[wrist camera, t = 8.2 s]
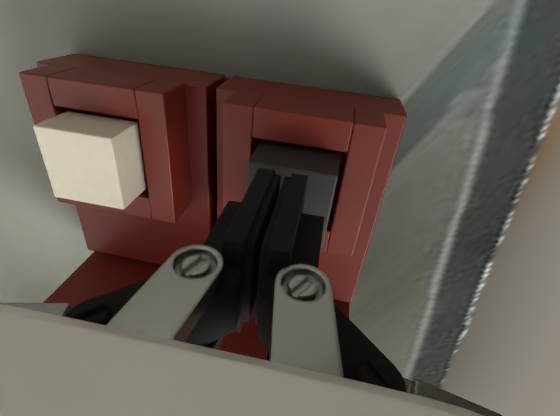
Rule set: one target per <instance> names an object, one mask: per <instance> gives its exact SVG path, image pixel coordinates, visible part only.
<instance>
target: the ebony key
mask: <svg viewBox="0 0 560 416" xmlns="http://www.w3.org/2000/svg"><path fill="white" fill-rule="evenodd" d="M339 157H340V156H339V154H334V153H328V152H321V151H315V150H309V149H303V148H296V147H290V146H284V145H277V144H271V143H265V142H260V143H259V145H258V147H257V148H256V150H255V151H254V153H253V155H252V156H251V158H250V159H249V161H248V173H247V190H248V188H249V186H250V184H251V182H252V180H253V178H254V176H255V174H256V172H257V170H258V169H259V168H265V169H271V170H275V173H276V174H275V175H281V181H280V190H281V187H282V184H283V181H284V178H285V176H287V177H291V175H292V173H295V174H301V175H307V176H308V182H307V188H306V195H305V201H304V208H303V213H305V214H311V215H317V216H322V217H324V224H323V232H322V240H321V247H323V245H324V240H325V236H326V231H327V226H328V221H329V216H330V212H331V207H332V202H333V197H334V193H335V188H336V183H337V178H338V168H339ZM279 193H280V191H279Z"/></svg>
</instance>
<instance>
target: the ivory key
mask: <svg viewBox="0 0 560 416" xmlns="http://www.w3.org/2000/svg"><path fill="white" fill-rule="evenodd" d="M33 128H34V131H35V134H36V138H37V141H38V144H39V147H40V150H41V154H42V157H43V160H44V163H45V167H46V170H47V173H48V176H49V179H50V183H51V186H52V189H53V192H54V195H55V197H59V198H64V199H70V200H75V201H80V202H86V203H91V204H96V205H102V206H107V207H112V208H118V209H125V208H126V207H127V206H128V205H129V204H130V203H131V202H132V201H133V200H134V199H136V198H137V197H138V196H139V195H140V194H141V193H142V192H143V191H144V190H145V189H146V180H145V173H144V165H143V158H142V151H141V144H140V136H139V129H138V123H137V122H133V121H127V120H120V119H114V118H108V117H102V116H95V115H89V114H83V113H77V112H70V111H67V112H65V113H62V114H60V115H57V116H55V117H52V118H50V119H48V120H45V121H43V122H40V123H38V124H35V125H34V126H33Z"/></svg>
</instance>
